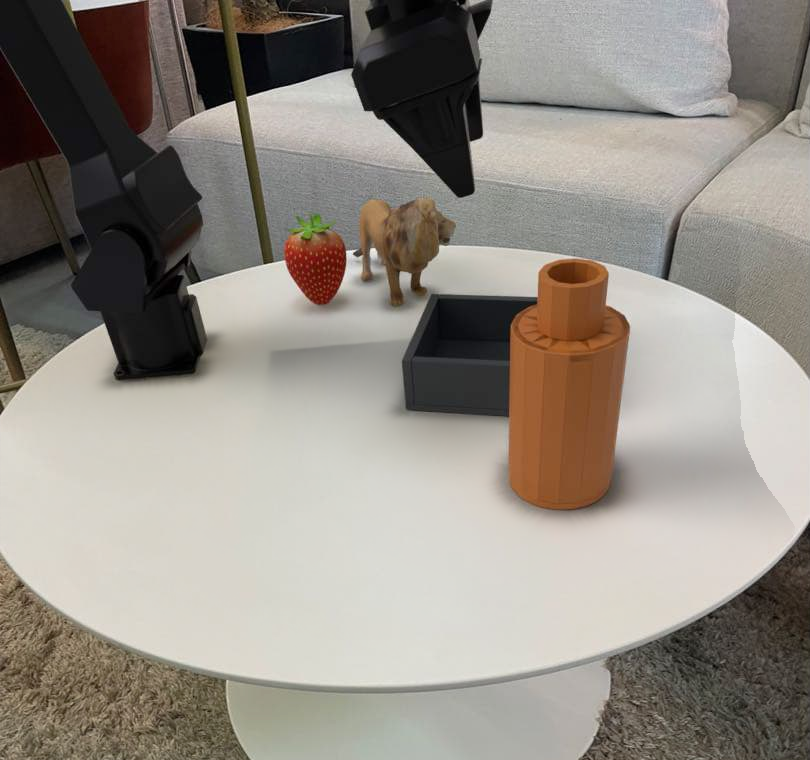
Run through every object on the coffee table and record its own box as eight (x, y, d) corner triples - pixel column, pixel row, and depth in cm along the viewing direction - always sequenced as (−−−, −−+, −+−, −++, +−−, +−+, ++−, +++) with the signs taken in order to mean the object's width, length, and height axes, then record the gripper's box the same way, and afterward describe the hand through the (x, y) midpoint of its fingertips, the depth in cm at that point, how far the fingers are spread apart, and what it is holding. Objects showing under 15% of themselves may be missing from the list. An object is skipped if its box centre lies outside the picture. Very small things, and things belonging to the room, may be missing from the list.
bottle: (516, 513, 49) (521, 304, 40) (502, 452, 53) (505, 253, 44) (621, 505, 49) (650, 293, 40) (598, 445, 53) (619, 243, 44)
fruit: (283, 313, 71) (267, 221, 66) (307, 287, 75) (293, 199, 69) (340, 318, 70) (327, 225, 64) (361, 291, 73) (351, 201, 68)
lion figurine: (465, 303, 70) (463, 197, 64) (414, 322, 68) (407, 214, 62) (376, 253, 79) (367, 156, 73) (329, 268, 77) (316, 170, 71)
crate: (405, 410, 58) (401, 360, 55) (433, 339, 66) (431, 293, 63) (551, 419, 56) (554, 368, 53) (563, 345, 63) (566, 297, 61)
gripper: (536, -182, 33) (605, 187, 43) (538, -213, 46) (591, 77, 56) (294, -72, 37) (410, 245, 47) (359, -129, 49) (439, 129, 60)
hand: (471, 165), depth 52 cm, fingers open, 9 cm apart
